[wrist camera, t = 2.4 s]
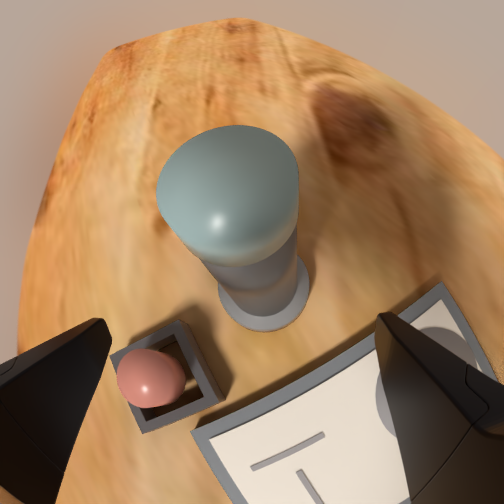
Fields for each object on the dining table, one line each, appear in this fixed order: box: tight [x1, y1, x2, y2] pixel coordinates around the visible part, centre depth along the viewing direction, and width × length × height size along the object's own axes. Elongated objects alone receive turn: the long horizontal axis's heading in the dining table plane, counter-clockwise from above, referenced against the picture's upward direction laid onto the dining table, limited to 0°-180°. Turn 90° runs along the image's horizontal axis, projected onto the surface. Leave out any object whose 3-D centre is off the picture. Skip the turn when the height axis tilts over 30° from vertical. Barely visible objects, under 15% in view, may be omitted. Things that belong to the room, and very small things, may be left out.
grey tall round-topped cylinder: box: [156, 125, 309, 332], centre depth 15 cm, size 6×6×13 cm
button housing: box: [110, 319, 225, 434], centre depth 19 cm, size 6×6×2 cm
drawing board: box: [190, 281, 498, 504], centre depth 15 cm, size 20×13×1 cm, turn 118°
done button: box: [117, 348, 186, 408], centre depth 17 cm, size 4×4×3 cm
